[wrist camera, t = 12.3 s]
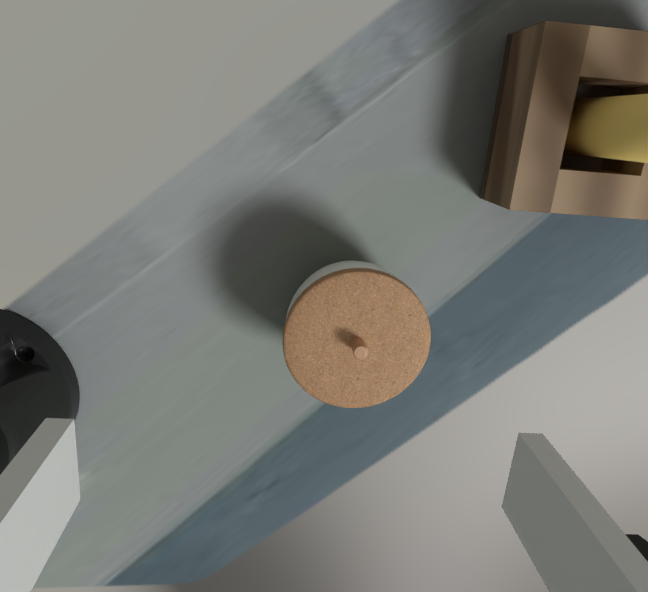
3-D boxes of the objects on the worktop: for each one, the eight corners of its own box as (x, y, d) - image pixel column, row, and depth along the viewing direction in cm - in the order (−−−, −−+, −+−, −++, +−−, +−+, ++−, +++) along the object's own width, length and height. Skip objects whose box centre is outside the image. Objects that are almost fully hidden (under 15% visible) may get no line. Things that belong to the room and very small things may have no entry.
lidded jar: (275, 356, 46) (273, 413, 37) (292, 237, 43) (293, 268, 34) (394, 370, 47) (420, 427, 38) (419, 254, 44) (453, 288, 35)
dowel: (542, 151, 41) (667, 166, 28) (553, 96, 40) (689, 85, 26) (591, 155, 41) (737, 172, 28) (604, 101, 40) (762, 91, 27)
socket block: (479, 197, 43) (509, 209, 37) (507, 35, 39) (545, 20, 33) (618, 208, 44) (668, 221, 38) (659, 50, 40) (721, 39, 34)
